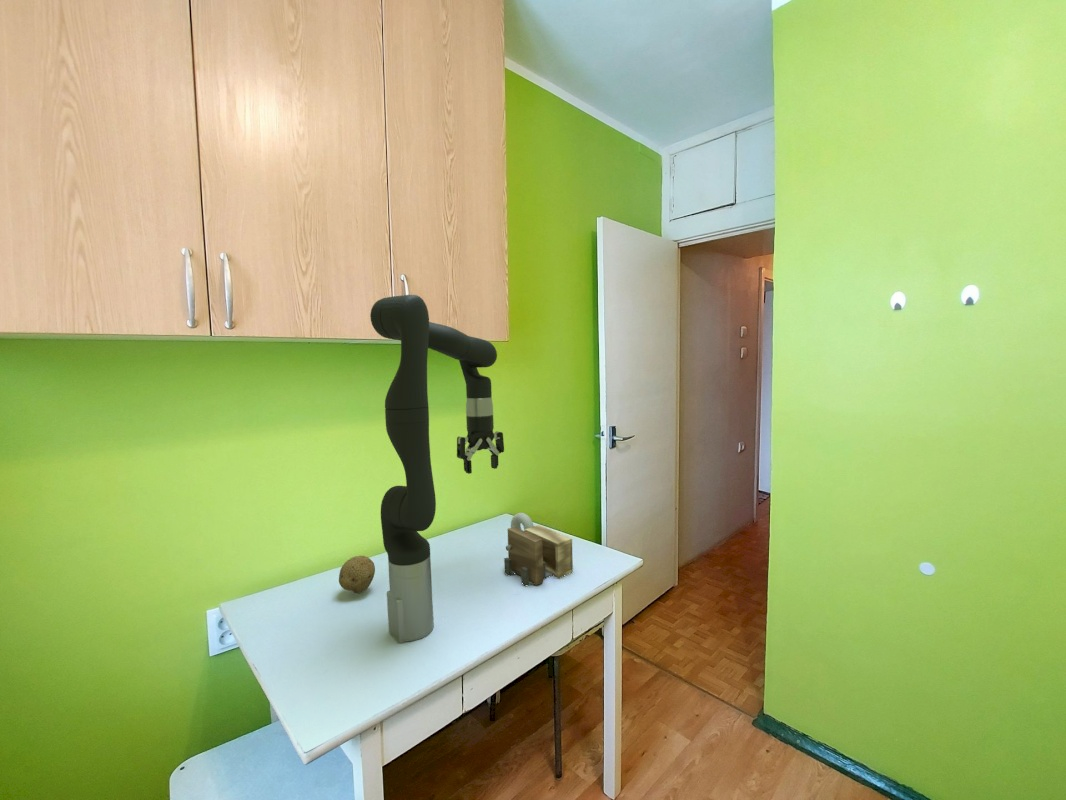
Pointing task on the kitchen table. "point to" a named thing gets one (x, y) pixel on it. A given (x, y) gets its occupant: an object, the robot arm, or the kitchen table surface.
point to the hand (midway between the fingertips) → (481, 470)
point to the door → (525, 554)
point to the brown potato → (357, 574)
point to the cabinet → (548, 554)
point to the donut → (521, 521)
